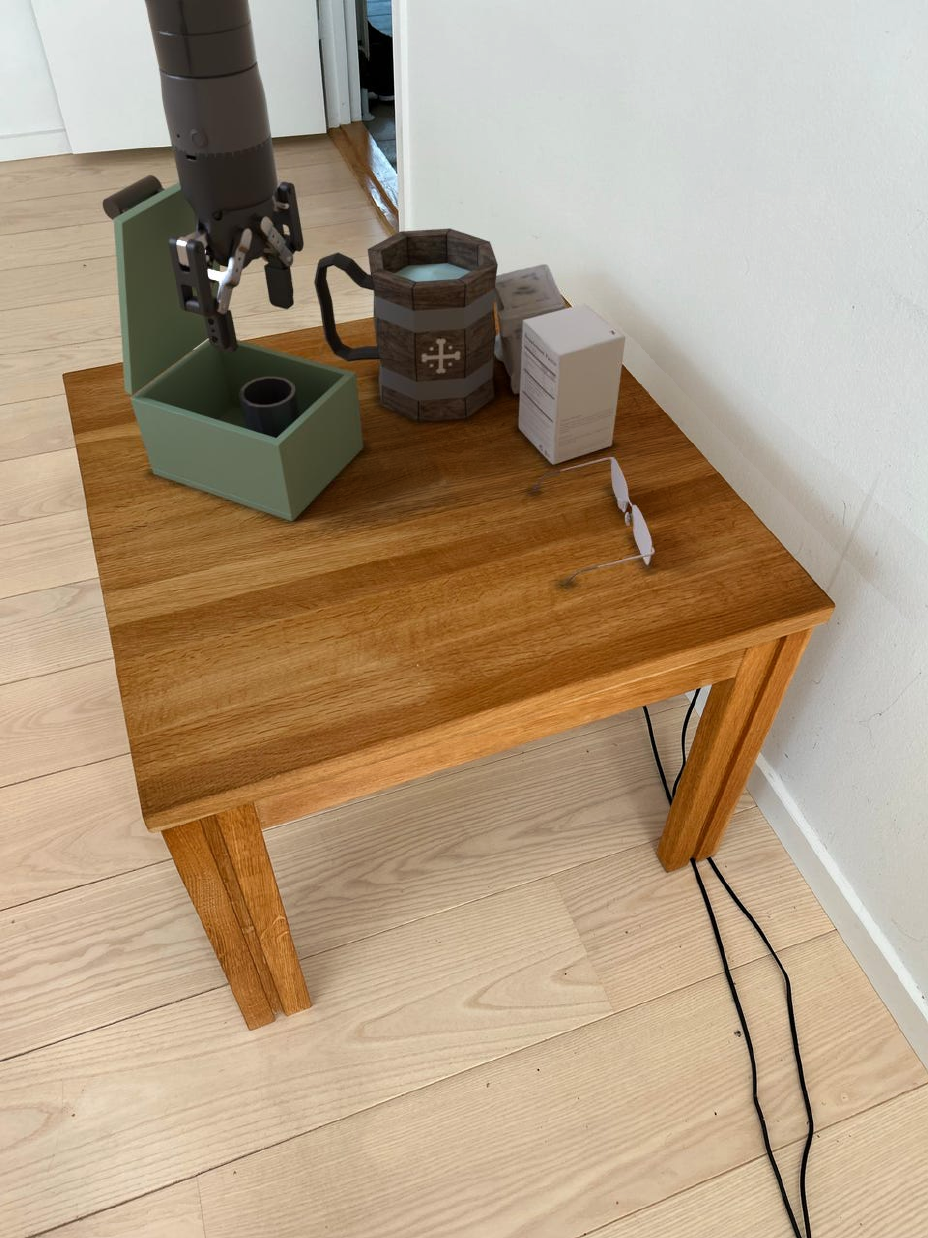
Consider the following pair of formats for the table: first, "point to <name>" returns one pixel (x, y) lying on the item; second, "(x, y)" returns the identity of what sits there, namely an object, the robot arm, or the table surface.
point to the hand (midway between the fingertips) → (254, 327)
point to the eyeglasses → (621, 494)
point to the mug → (425, 321)
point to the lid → (152, 279)
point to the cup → (269, 405)
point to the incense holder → (521, 312)
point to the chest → (240, 458)
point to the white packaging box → (569, 382)
